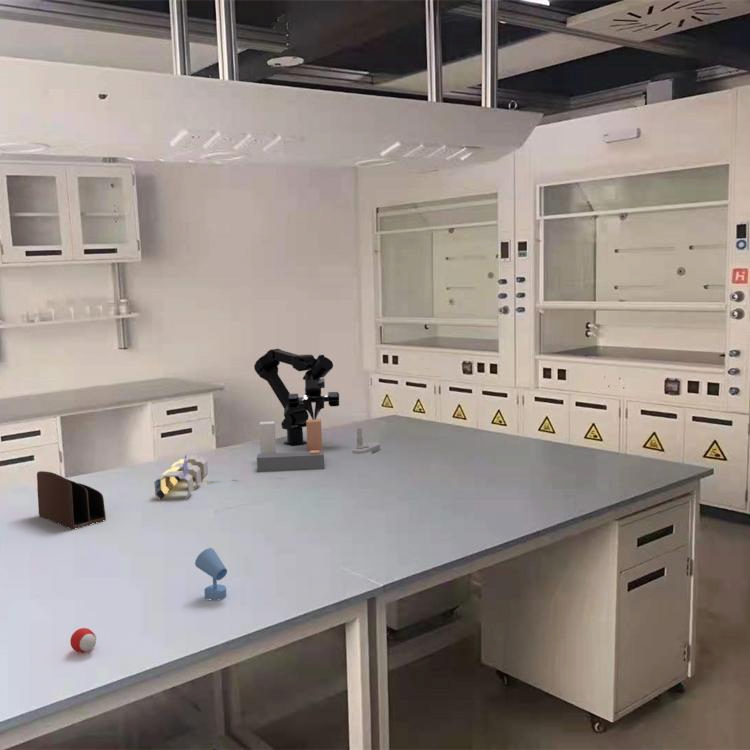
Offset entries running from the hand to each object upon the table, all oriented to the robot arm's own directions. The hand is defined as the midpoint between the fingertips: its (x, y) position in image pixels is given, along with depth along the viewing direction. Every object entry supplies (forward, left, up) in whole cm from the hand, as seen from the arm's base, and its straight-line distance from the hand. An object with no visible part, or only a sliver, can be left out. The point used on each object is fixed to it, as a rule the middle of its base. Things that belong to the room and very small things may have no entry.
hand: (314, 419), depth 285 cm
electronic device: (+9, +16, -14) cm, 23 cm away
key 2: (+9, -7, -12) cm, 17 cm away
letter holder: (+10, -90, -14) cm, 92 cm away
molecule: (+92, -115, -14) cm, 148 cm away
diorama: (+4, -54, -14) cm, 56 cm away
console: (+8, -15, -14) cm, 22 cm away
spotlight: (+86, -86, -14) cm, 122 cm away
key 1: (0, -20, -12) cm, 23 cm away
